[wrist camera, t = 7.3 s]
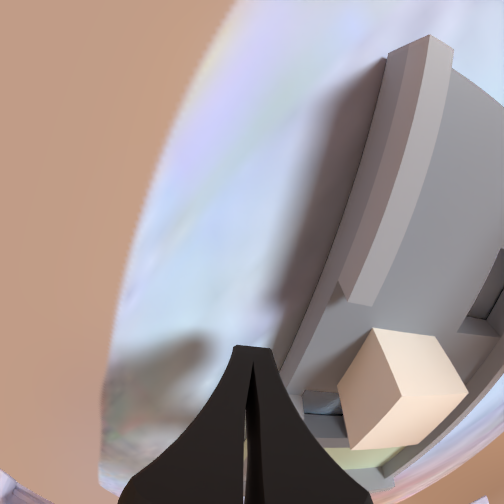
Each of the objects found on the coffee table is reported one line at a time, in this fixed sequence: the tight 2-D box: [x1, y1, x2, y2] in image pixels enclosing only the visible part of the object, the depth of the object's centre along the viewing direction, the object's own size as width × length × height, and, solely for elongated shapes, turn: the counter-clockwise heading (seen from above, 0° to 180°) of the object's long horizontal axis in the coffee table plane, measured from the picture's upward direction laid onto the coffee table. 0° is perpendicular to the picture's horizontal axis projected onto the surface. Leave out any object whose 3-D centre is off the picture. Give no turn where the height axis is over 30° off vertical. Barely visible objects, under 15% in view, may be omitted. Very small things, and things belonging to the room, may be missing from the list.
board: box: [243, 35, 504, 496], centre depth 13 cm, size 14×28×4 cm, turn 166°
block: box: [337, 328, 469, 450], centre depth 11 cm, size 4×4×4 cm
